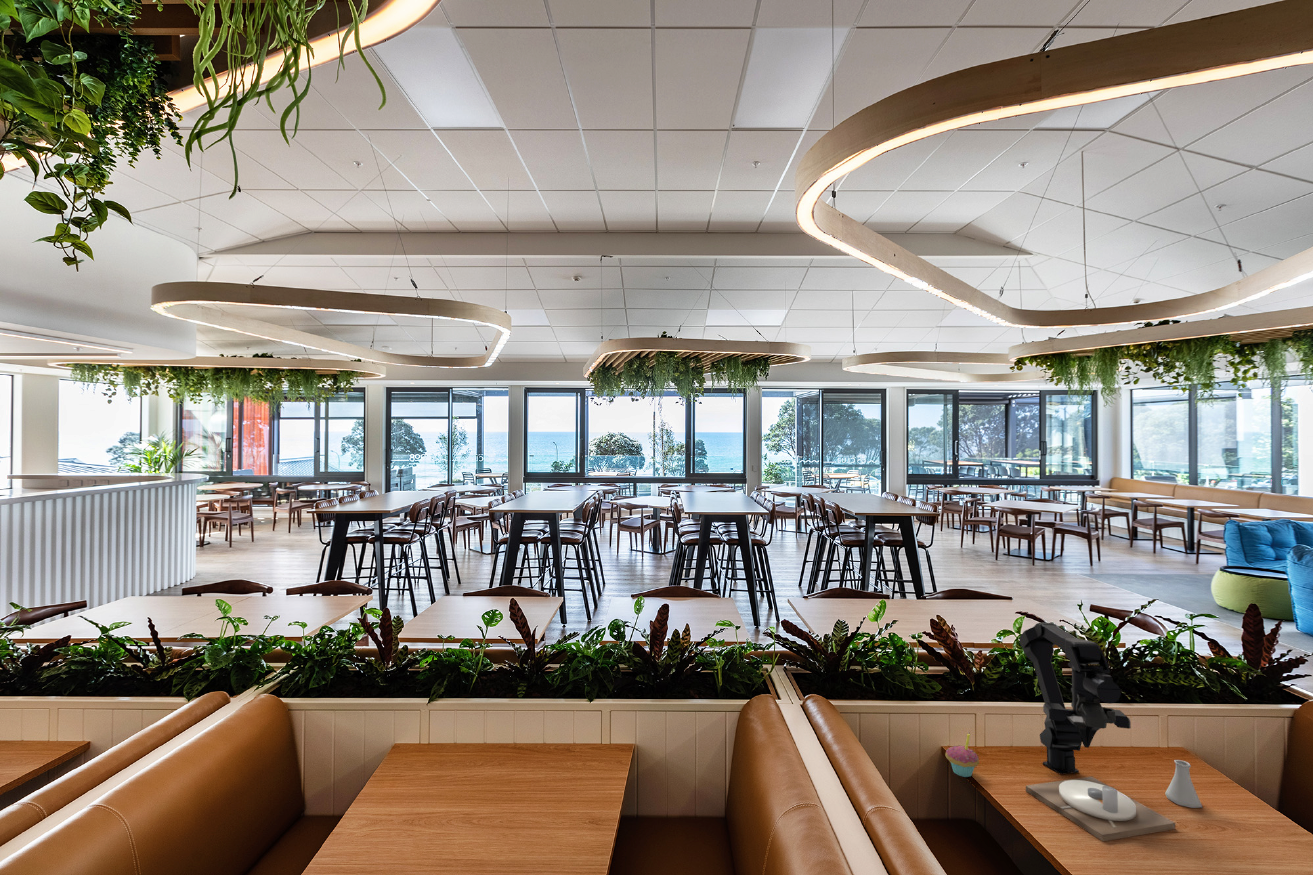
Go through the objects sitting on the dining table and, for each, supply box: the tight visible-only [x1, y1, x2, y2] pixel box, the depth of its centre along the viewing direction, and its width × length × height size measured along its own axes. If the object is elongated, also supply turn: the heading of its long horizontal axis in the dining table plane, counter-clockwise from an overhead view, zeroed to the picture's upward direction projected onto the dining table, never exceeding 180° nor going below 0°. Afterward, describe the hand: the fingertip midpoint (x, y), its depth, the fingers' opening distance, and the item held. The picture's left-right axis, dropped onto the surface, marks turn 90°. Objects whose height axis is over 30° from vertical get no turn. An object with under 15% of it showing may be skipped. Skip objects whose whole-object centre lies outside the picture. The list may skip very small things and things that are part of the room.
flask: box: [1164, 759, 1203, 809], centre depth 159 cm, size 7×7×10 cm
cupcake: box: [945, 731, 980, 778], centre depth 172 cm, size 9×8×12 cm
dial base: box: [1025, 776, 1176, 842], centre depth 155 cm, size 22×22×2 cm
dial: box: [1059, 779, 1136, 821], centre depth 155 cm, size 16×16×6 cm
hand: (1086, 746), depth 163 cm, fingers closed
